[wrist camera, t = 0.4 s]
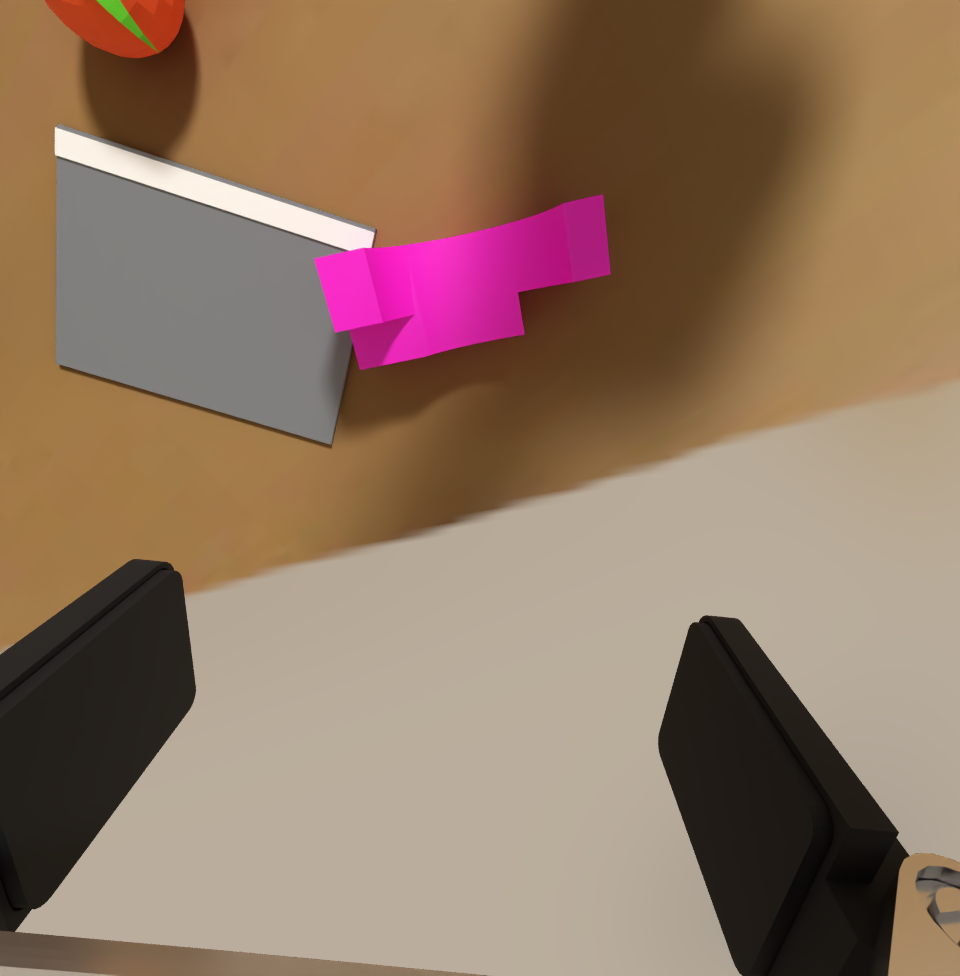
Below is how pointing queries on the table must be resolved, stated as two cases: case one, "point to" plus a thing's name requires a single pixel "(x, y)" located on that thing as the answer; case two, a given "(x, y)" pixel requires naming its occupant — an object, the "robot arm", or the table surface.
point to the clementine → (123, 23)
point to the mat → (197, 286)
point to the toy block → (459, 282)
